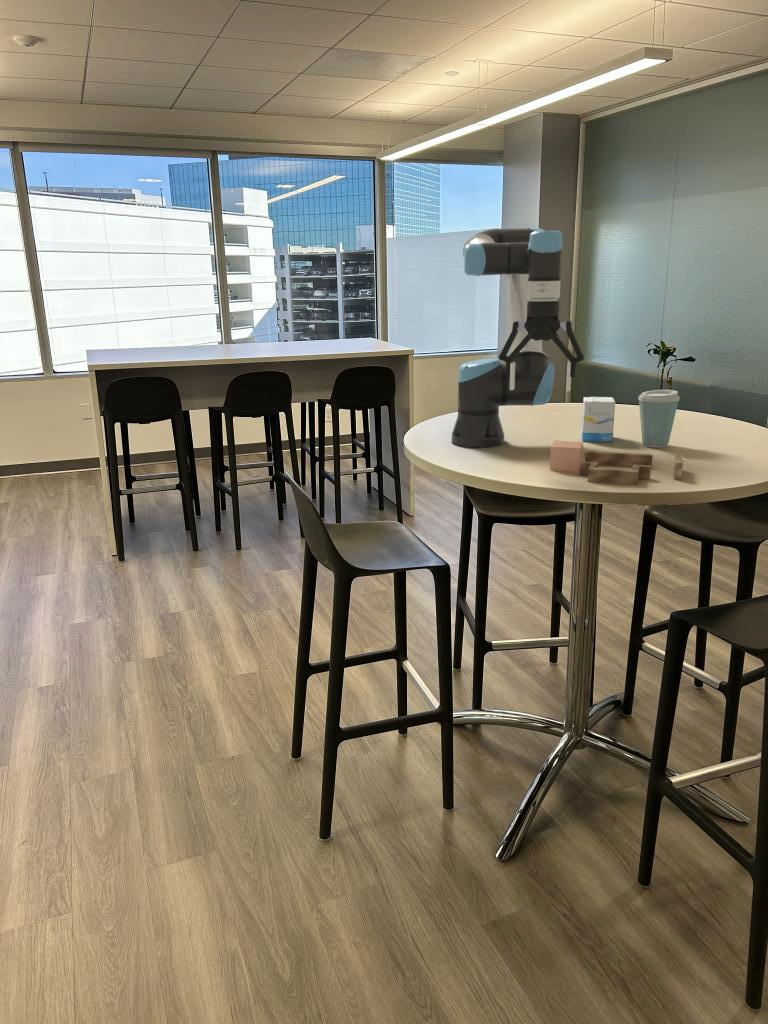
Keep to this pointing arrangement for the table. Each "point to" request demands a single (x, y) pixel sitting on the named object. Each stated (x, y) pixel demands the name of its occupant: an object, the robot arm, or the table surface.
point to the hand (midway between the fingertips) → (539, 390)
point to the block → (566, 456)
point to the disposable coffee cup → (657, 416)
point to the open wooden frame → (637, 461)
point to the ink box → (598, 419)
